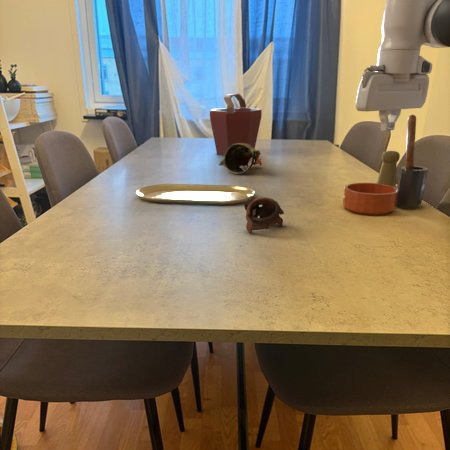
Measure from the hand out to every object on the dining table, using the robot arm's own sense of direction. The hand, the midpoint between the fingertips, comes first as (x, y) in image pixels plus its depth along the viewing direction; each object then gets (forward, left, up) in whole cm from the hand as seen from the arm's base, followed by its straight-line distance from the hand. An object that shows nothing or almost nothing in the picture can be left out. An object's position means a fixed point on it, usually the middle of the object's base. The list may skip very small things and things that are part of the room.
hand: (387, 130), depth 104 cm
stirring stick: (-10, -5, -19) cm, 22 cm away
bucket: (+35, -96, -20) cm, 104 cm away
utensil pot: (-10, -5, -20) cm, 23 cm away
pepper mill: (-12, -27, -20) cm, 35 cm away
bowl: (+1, -2, -20) cm, 20 cm away
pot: (+32, -52, -20) cm, 64 cm away
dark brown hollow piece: (+31, +14, -20) cm, 40 cm away
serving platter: (+48, -16, -20) cm, 54 cm away
